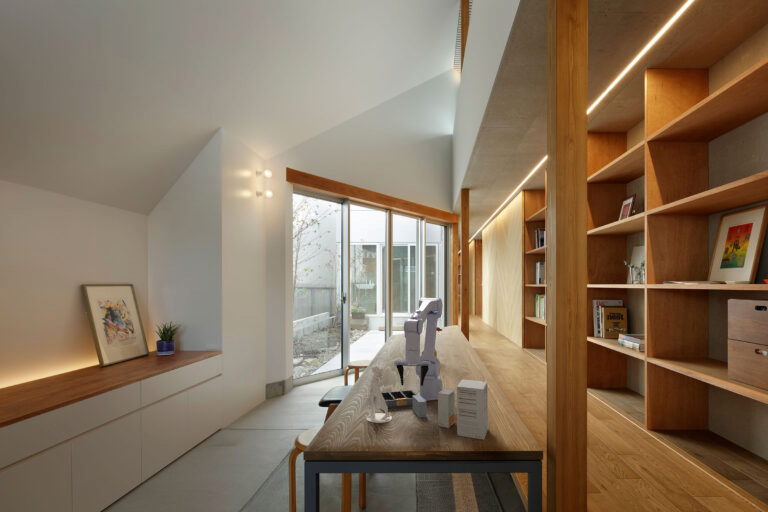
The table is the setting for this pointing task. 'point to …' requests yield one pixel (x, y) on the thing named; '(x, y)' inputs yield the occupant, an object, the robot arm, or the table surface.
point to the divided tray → (398, 399)
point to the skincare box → (446, 408)
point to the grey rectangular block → (419, 406)
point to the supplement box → (472, 409)
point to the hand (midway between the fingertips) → (411, 385)
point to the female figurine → (377, 398)
